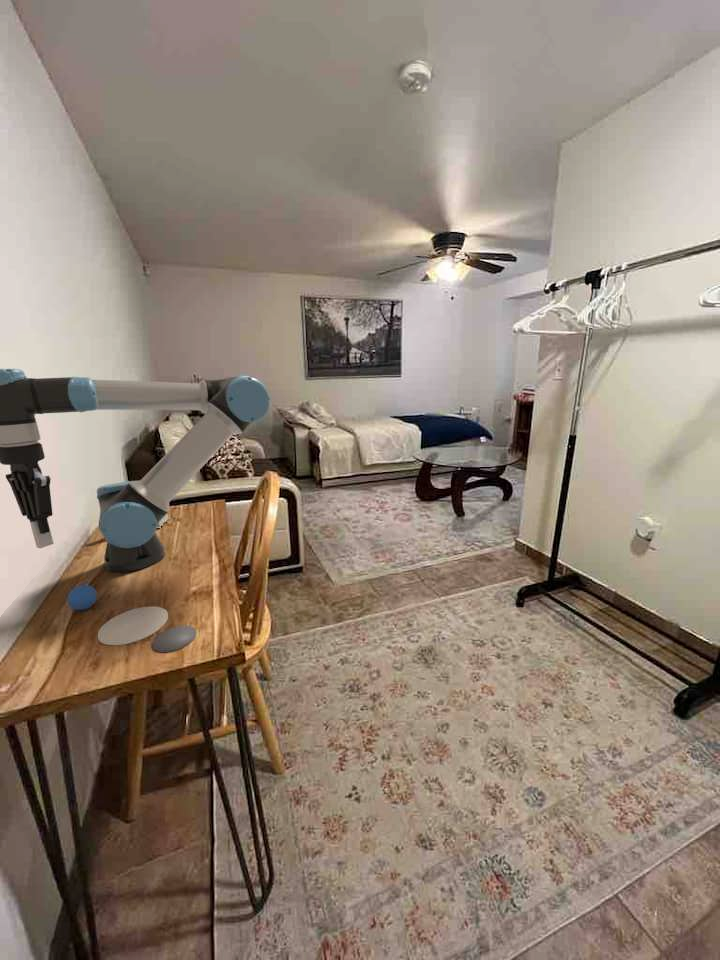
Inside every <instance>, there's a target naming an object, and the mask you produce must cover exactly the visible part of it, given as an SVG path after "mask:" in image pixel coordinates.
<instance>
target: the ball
mask: <svg viewBox="0 0 720 960" xmlns="http://www.w3.org/2000/svg"><path fill="white" fill-rule="evenodd" d="M97 598H98V592H97V590H96V588H95V587H94V586H92V585H90V584H81V585H77V586H75V587H74V588H72V589H71V590H70V591H69V593H68V595H67V603H68V605H69V607H70V608H72V609H73V610H76V611H83V610H86V609H89V608H90V607H92V606H93V605H94V604H95V603H96V601H97Z"/></svg>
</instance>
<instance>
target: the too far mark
mask: <svg viewBox="0 0 720 960" xmlns="http://www.w3.org/2000/svg"><path fill="white" fill-rule="evenodd" d="M196 637H197V630H196V628H195V627H193V626H191V625H185V624H184V625H183V624H182V625H175V626H172V627H168V628H166V629H165V630H163V631H162V632H160V633H158V634H157V635H156V636H155V638H153V640H152V642H151V648H152V649H153V650H154V651H155V652H158V653H172V652H175V651H178V650H180V649H183V648H184V647H187V646H188V645H189V644H191V643H192V642H193V641H194V640H195V639H196Z"/></svg>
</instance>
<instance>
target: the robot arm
mask: <svg viewBox="0 0 720 960" xmlns="http://www.w3.org/2000/svg"><path fill="white" fill-rule="evenodd" d="M270 400H271V399H270V393H269V391H268V389H267V387H266V386H265V385H264V383H262V382H261V381H260V380H258V379H257V378H255V377H251V376H249V375H239V376H234V377H233V376H232V377H231V376H230V377H228V378H226V377H225V378H221V379H220V378H219V379H213V380H212V379H209V380H208V379H201V380H200V381H199V382H198V383H197V382H195V383H194V382H173V381H172V382H169V381H140V380H118V379H117V380H115V379H114V380H111V379H110V380H109V379H92V378H91V377H80V376H71V377H68V376H67V377H46V378H42V377H41V378H35V377H34V378H33V377H31V378H30V377H27V375H26V374H25V371H23V369H20V368H0V464H1V465H3V466H6V465H7V466H9V468H10V469H9V470H10V473H9V474H5V479H6V481H7V482H8V483H9V486H10V487H11V490H12V493H13V495H14V498H15V500H16V503H17V505H18V508H19V510H20V513H21V515H22V516H23V517H26V519H27V520H28V521H29V523H30V527H31V531H32V534H33V539H34V541H35V545H36V548H38V549H43V548H45V547H49V546H52V545H54V540H53V536H52V531H51V527H50V523H49V520H48V518H50V517H52V516H53V507H52V506H53V504H52V496H51V486H50V485H51V477H50V475H46V476H45V475H43V473H42V468H41V467H40V465H39V461H43V460H44V459H45V453H44V447H43V444H42V443H41V442H39V441H41V435H40V431H39V427H38V422H37V421H36V420H37V419H36V417H35V415H38V414H39V415H44V414H61V413H63V414H64V413H65V414H67V413H78V412H79V413H84V412H90V411H91V412H92V411H96V410H99V411H100V410H109V411H110V410H111V411H112V410H115V411H116V410H117V411H119V410H120V411H121V410H122V411H123V410H124V411H125V410H128V411H130V410H131V411H132V410H134V411H142V410H143V411H200V412H201V413H203V414H204V415H203V416H202V417H200V419H198V421H197V422H195V424H193V426H192V427H191V428H190V429H189V430H188V431H187V432H186V433H185V434H184V435H183V436H182V438H180V440H178V442H177V443H176V444H174V445H173V446H172V447H171V449H169V451H167V453H166V454H165V455H163V457H161V459H159V461H158V462H157V463H155V465H154V466H153V467H152V468H151V469H150V470H149V471H148V472H147V473H146V474H145V475H144V476H143V477H142V479H140V480H130V481H122V482H116V483H110V484H106V485H101V486H99V487H98V488H97V490H96V495H97V496H96V499H97V500H98V503H99V509H100V511H99V520H98V528H99V531H100V533H101V535H102V537H103V538H104V539H105V540H106V547H105V552H104V553H105V554H104V558H103V562H104V567H105V569H106V570H107V571H109V572H112V573H126V572H132V571H138V570H141V569H144V568H147V567H150V566H152V565H155V564H157V563H159V562H160V561H161V560H163V559H164V557H165V556H164V555H166V551H165V546H164V544H163V542H162V540H161V539H160V537H159V536H158V534H157V533H156V531H157V530H158V529H157V524H158V523H159V522H160V520H161V519H162V518H163V517H164V516H165V515H166V514H167V515H168V513H169V512H170V502H171V501H172V500H173V499H174V498H175V496H177V494H178V493H179V492H180V491H181V490H182V489H183V488H184V487H185V486H186V485H187V484H188V483H189V482H190V480H191V479H193V477H194V476H195V475H196V474H197V473H198V472H199V471H200V470H201V469H202V468H203V467H204V466H205V465H206V463H208V461H210V459H211V458H212V457H213V456H214V455H215V454H216V453H217V452H218V451H219V450H220V449H221V447H223V445H224V444H225V443H227V441H228V440H229V439H230V438H231V437H232V436H233V435H242V434H243V433H244V432H245V430H247V428H248V427H250V425H251V424H252V423H254V422H257V421H260V420H261V419H262V418H263V417H265V416H266V414H267V413H268V411H269V409H270V405H271V401H270Z"/></svg>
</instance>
